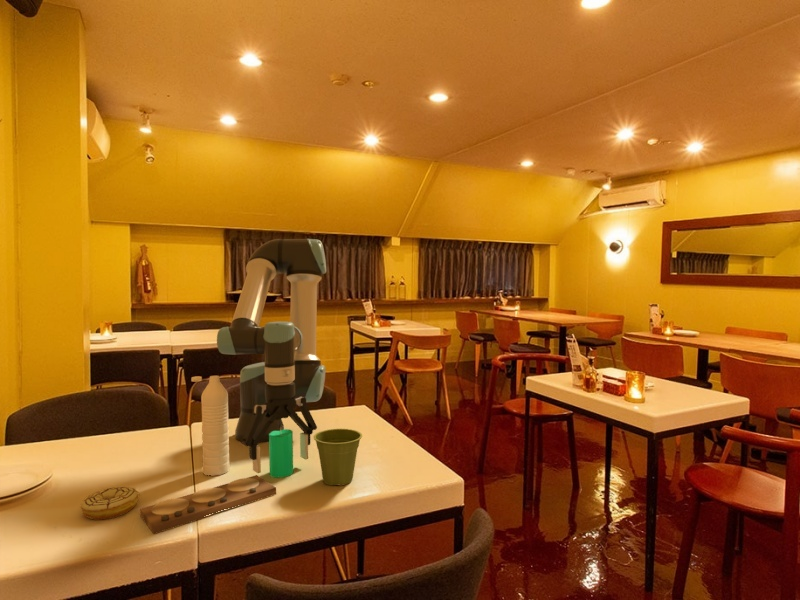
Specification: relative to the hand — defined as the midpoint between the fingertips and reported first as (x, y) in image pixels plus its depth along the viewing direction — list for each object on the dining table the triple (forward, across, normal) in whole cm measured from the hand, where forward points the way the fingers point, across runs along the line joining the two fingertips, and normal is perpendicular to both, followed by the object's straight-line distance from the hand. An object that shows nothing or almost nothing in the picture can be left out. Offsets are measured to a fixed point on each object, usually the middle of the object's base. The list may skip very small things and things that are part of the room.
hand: (281, 464), depth 123 cm
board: (+2, -20, -6) cm, 21 cm away
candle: (+2, 0, 0) cm, 2 cm away
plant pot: (+2, +8, -14) cm, 16 cm away
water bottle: (+2, -13, +13) cm, 19 cm away
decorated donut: (+3, -37, +7) cm, 38 cm away
